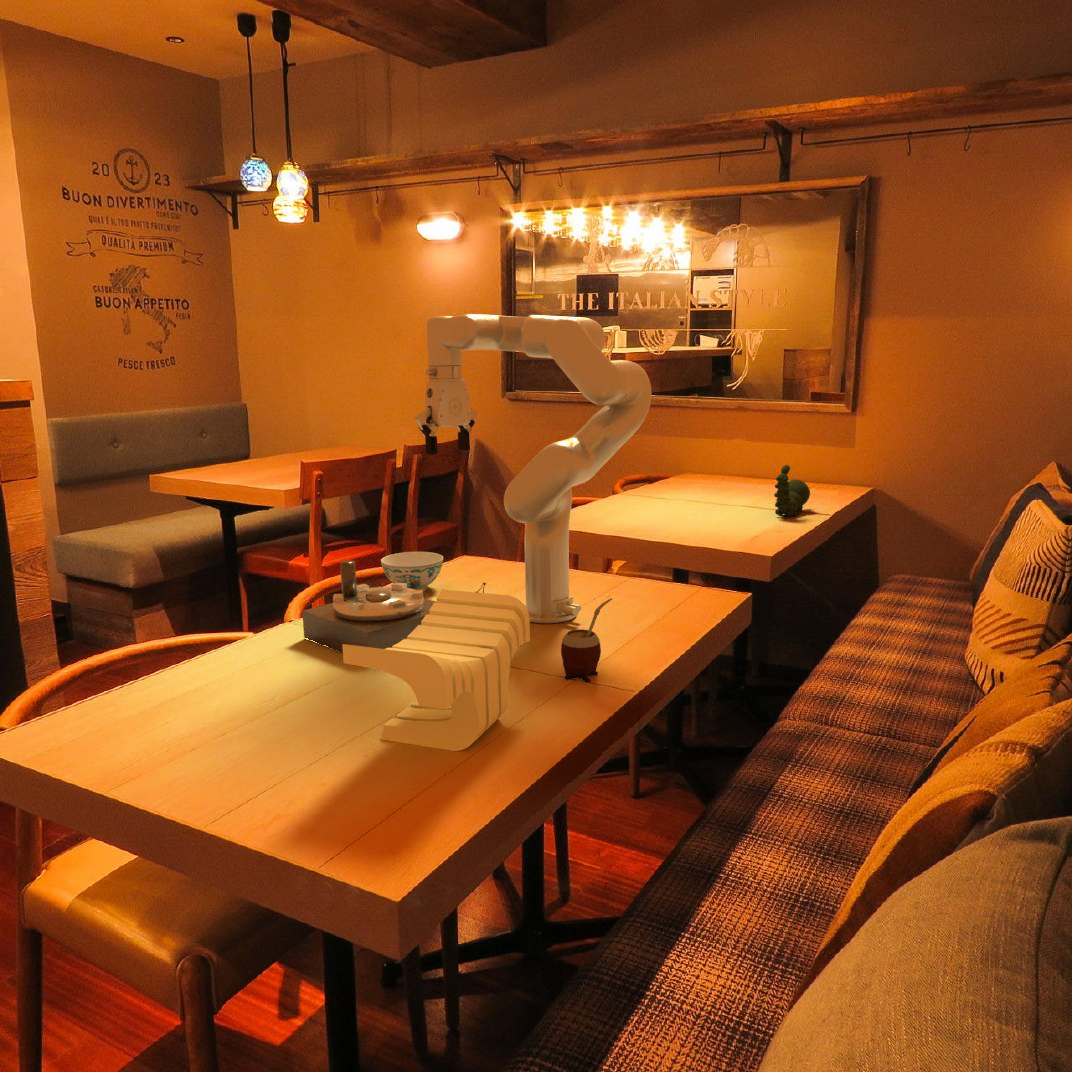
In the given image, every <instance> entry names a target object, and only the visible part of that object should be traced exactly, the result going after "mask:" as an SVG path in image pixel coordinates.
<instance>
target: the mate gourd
mask: <svg viewBox="0 0 1072 1072" xmlns="http://www.w3.org/2000/svg"><path fill="white" fill-rule="evenodd" d="M612 599H613V598H612V597H611V598H609V599H608V600H607V599H606V600H605V601H604V602H602V603H601V604H599V606H598V607H597V608H595V610H594V613H593V618H592V620H591V622H590V625H589V628H588V629H583V628H582V629H573V630H570V631H567V632H566V633H565V634H564V636H563V637H562V640H561V645H560V653H561V654H560V655H561V659H562V667H563V670H564V673H565V675H564V680H567V681H568V680H574V679H580V680H582V681H583V682H584V683H586V684H587V683H590V682H591V679H590V678H589V677H593V676H598V675H599V674H598V671H597V669H598V664H599V661H600V658H601V654H602V652H601V651H602V649H601V642H600V638H599V636H598V635H597V633H596V632H594V631H593V628H594V626H595V623H596V620H597V618H598V616H599V614H600V612H601V610H602V608H604V606H606V605H607V604H608V603H610V602H611V601H612Z"/></svg>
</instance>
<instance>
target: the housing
mask: <svg viewBox="0 0 1072 1072" xmlns="http://www.w3.org/2000/svg"><path fill="white" fill-rule="evenodd" d="M423 600H424V607H423V609H422V610H420V611H419V612H417V613H415V614H412V615H410V616H406V617H402V618H398V619H392V620H383V621H355V620H348V619H344V618H341V617H338V616H337V615H335V613H334V607H333V602H331V603H328V604H323V605H320V606H316V607H312V608H309V609H308V608H306V609H303V610H302V612H301V613H302V614H301V615H302V625H303V627H302V629H303V638H304V637H305V638H308V639H309V640H313V641H315V642H317V643H319V644H321V645H320V646H322V645H326V646H328V647H329V648H328V649H330V648H332V649H334V650H333V651H335V650H337V651H336V652H338V651H339V652H338V653H340V652H341V654H343V647H342V644H346V645H354V646H363V647H371V648H379V649H386V648H392V646H394V645H396V644H397V643H399V642H400V641H402V640H403V639H407V636H408V635H409V634H410V633H411V632H412V631H413V630H414V629H415V628H416V627H417V626H418V625H421V621H422V620H423V618H424V617H425V616H426V614H428V615H429V610H430V608H431V607H432V605H433V603H434V602H435V603H437V600H436V601H435V600H432V599H429V598H424V597H423ZM319 644H318V645H319ZM332 649H331V650H332Z"/></svg>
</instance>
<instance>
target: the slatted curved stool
mask: <svg viewBox="0 0 1072 1072" xmlns="http://www.w3.org/2000/svg"><path fill="white" fill-rule="evenodd" d="M436 602H437V603H435V602H434V603H433V605H432V607H431V608H430V610H429V615H428V614H426V616H425V617H424V618H423V620H422V621H421V625H418V626H417V627H416V628H415V629H414V630H413V631H412V632H411V633H410V634H409V635H408V636H407V639H403V640H402V641H400V642H399V643H397V644H396V645H394V646H392V648H386V649H379V648H371V647H363V646H354V645H346V644H342V647H343V653H342V658H343V659H342V660H343V662H342V663H343V664H345V665H346V664H347V665H354V666H359V667H364V668H369V669H373V670H377V671H380V672H381V671H382V672H384V673H386V674H390V675H393V676H395V677H397V678H399V679H400V680H403V682H405V683H406V684H407V685H408V686H409V687H410V688H411V690H412V691H413V693H414V696H415V698H416V700H415V701H413V702H412V703H411V704H410V706H407V707H405V708H404V709H402V710H401V711H400V712H399V713H397V714H396V715H395V717H392V718H391V719H389V720H388V721H387V722H385V723H384V724H383V726H382V733H381V737H380V740H382V741H383V740H384V741H391V742H397V743H402V744H408V745H415V746H421V747H429V748H434V749H438V750H439V749H440V750H446V751H453V752H461V751H463V750H465V749H467V748H469V747H470V746H471V745H473V743H475V741H477V740H478V739H480V737H481V736H482V735H483V734H484V733H485V732H486V731H487V730H488V729H489V728H490V727H492V726H493V724H494V723H495V722H497V720H499V718H500V717H502V716H503V715H504V714H505V713H506V711H507V708H508V705H509V684H510V674H511V660H513V658H514V656H515V654H516V652H517V650H518V648H519V647H521V646H522V645H523V644H524V643H527V642H530V641H531V632H530V631H531V627H530V623H531V622H530V618H529V613H528V610H527V608H526V604H525V603H524V602H522V600H521V599H519V598H517V597H515V596H513V595H509V594H498V593H487V592H486V593H485V592H484V593H483V592H479V593H477V591H464V590H454V589H453V590H452V589H441V590H440V591H439V593H438V595H437V596H436Z"/></svg>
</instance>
